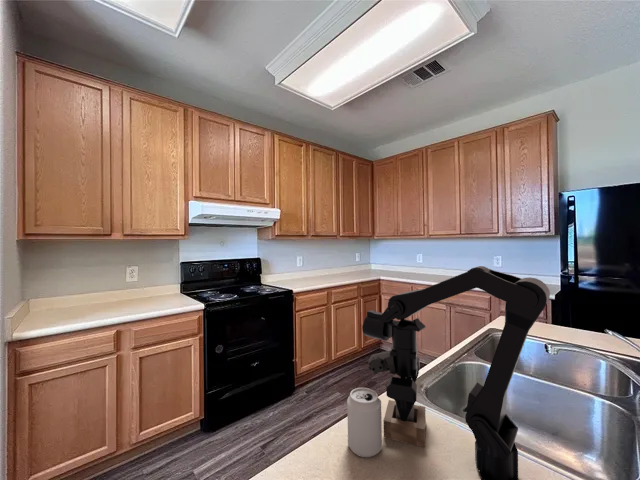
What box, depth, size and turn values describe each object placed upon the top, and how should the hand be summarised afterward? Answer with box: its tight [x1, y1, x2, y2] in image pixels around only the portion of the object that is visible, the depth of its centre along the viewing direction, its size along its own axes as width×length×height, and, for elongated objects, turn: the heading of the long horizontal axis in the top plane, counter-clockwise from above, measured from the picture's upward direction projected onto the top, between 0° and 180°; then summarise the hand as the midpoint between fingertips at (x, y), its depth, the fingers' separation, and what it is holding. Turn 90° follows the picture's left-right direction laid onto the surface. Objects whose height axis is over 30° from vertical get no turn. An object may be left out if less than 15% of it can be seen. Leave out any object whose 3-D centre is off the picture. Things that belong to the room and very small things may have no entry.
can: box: [346, 387, 383, 458], centre depth 63 cm, size 8×8×12 cm
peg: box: [396, 404, 415, 423], centre depth 69 cm, size 4×4×10 cm
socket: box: [383, 399, 427, 448], centre depth 69 cm, size 9×9×4 cm
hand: (405, 409), depth 69 cm, fingers open, 9 cm apart
